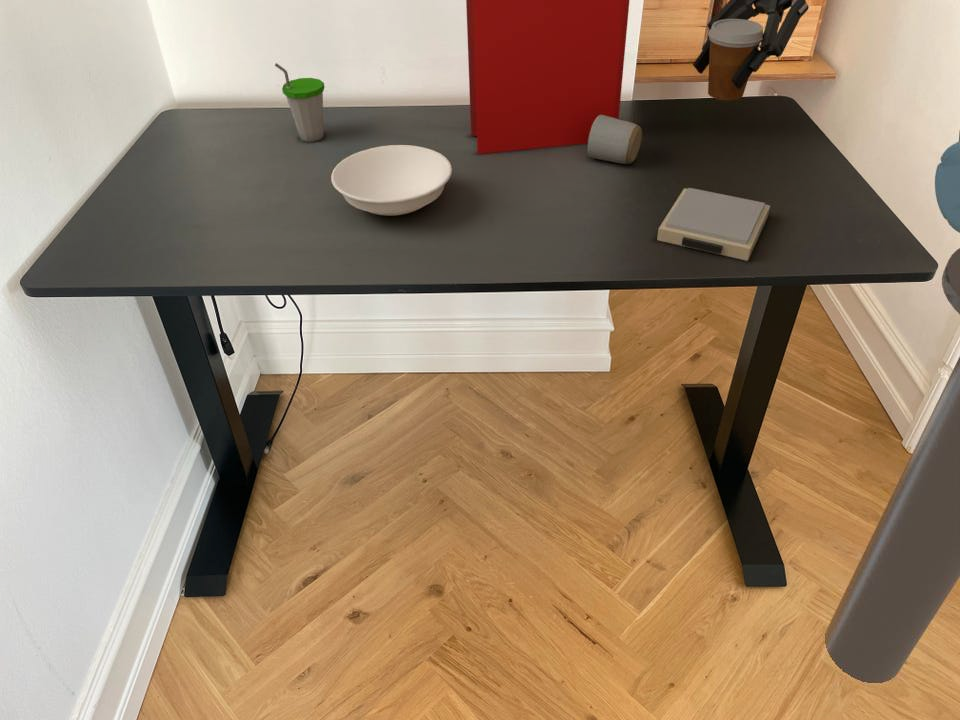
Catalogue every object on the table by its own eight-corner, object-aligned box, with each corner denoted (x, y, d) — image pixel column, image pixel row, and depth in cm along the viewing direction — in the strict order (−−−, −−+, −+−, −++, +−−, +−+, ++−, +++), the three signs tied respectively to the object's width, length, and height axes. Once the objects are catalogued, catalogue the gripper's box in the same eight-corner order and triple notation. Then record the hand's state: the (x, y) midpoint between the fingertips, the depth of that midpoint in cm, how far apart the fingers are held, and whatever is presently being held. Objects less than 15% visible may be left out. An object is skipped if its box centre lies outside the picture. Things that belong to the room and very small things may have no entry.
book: (477, 153, 146) (471, -32, 125) (471, 135, 152) (464, -44, 131) (618, 140, 149) (635, -44, 128) (606, 122, 155) (621, -56, 134)
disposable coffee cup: (689, 96, 144) (699, 28, 136) (714, 80, 149) (725, 14, 141) (737, 108, 139) (750, 39, 131) (761, 91, 144) (775, 24, 136)
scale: (767, 217, 126) (771, 201, 124) (746, 263, 116) (750, 246, 114) (682, 199, 131) (684, 184, 129) (655, 242, 121) (657, 225, 119)
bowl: (438, 170, 141) (436, 137, 137) (467, 224, 127) (465, 189, 123) (329, 187, 138) (323, 154, 134) (345, 245, 123) (339, 209, 119)
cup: (338, 130, 156) (326, 54, 146) (322, 147, 150) (308, 69, 140) (302, 127, 158) (288, 51, 148) (285, 143, 152) (269, 66, 142)
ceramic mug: (628, 172, 139) (633, 131, 134) (585, 164, 142) (588, 123, 137) (646, 148, 146) (651, 108, 141) (604, 141, 149) (607, 102, 144)
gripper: (855, -9, 132) (769, 106, 136) (757, -34, 146) (682, 71, 150) (843, -38, 127) (754, 83, 130) (742, -61, 141) (665, 48, 144)
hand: (716, 76), depth 140 cm, fingers closed on disposable coffee cup, 9 cm apart
